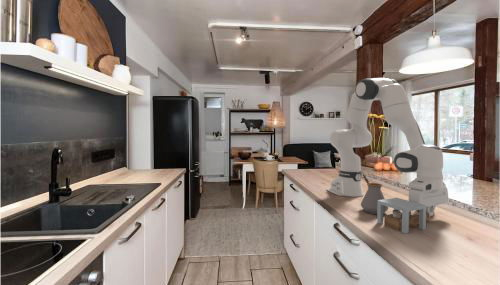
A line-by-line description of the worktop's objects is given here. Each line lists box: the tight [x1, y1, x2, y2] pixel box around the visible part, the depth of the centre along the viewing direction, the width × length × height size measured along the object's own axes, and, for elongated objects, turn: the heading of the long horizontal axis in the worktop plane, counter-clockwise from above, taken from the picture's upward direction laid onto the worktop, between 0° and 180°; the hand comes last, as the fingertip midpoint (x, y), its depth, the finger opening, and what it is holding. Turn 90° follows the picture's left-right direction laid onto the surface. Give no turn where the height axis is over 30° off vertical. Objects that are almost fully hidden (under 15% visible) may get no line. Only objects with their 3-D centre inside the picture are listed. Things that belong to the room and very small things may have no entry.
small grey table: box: [376, 197, 427, 235], centre depth 95 cm, size 12×11×9 cm
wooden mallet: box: [383, 209, 430, 232], centre depth 97 cm, size 21×6×6 cm, turn 112°
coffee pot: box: [360, 174, 389, 215], centre depth 117 cm, size 21×12×15 cm, turn 173°
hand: (428, 215), depth 101 cm, fingers closed
